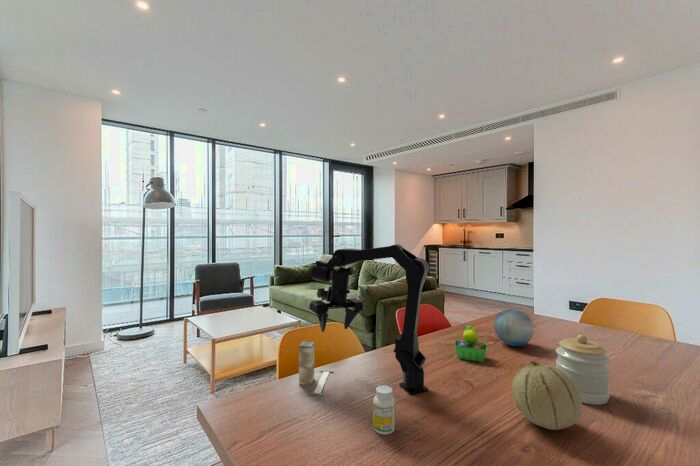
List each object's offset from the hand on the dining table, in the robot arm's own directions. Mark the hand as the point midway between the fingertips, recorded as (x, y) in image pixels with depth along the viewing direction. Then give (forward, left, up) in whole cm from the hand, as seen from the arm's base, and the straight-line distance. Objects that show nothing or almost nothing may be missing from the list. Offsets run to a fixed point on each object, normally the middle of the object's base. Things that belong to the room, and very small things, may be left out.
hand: (334, 330), depth 110 cm
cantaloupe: (-48, -38, -14) cm, 63 cm away
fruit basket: (-8, -52, -14) cm, 55 cm away
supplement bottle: (-34, 0, -14) cm, 37 cm away
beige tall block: (-4, +11, -14) cm, 18 cm away
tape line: (-6, +6, -14) cm, 17 cm away
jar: (-42, -62, -14) cm, 77 cm away
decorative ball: (-5, -78, -14) cm, 80 cm away
